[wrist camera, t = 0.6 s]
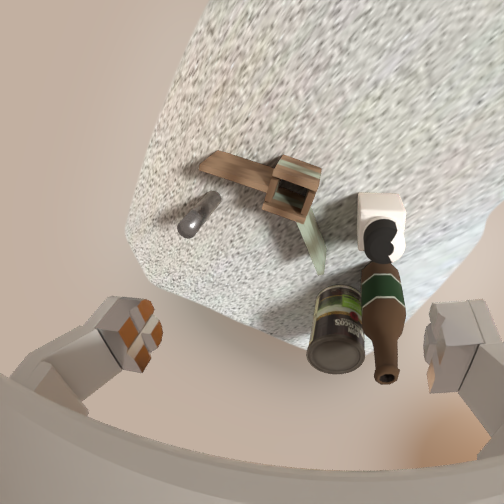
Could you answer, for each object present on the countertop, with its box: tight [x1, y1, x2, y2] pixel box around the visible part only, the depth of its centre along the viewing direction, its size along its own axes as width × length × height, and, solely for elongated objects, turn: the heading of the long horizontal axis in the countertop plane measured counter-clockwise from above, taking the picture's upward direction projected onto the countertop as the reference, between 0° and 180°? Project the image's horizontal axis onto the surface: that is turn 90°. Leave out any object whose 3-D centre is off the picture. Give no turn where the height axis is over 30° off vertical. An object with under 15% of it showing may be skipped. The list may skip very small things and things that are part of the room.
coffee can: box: [306, 285, 365, 374], centre depth 58 cm, size 10×10×14 cm
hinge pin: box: [177, 191, 221, 238], centre depth 53 cm, size 3×3×12 cm
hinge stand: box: [199, 150, 327, 275], centre depth 51 cm, size 23×14×8 cm, turn 75°
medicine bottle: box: [357, 192, 406, 264], centre depth 46 cm, size 7×7×12 cm
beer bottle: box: [361, 261, 406, 384], centre depth 48 cm, size 8×8×24 cm
